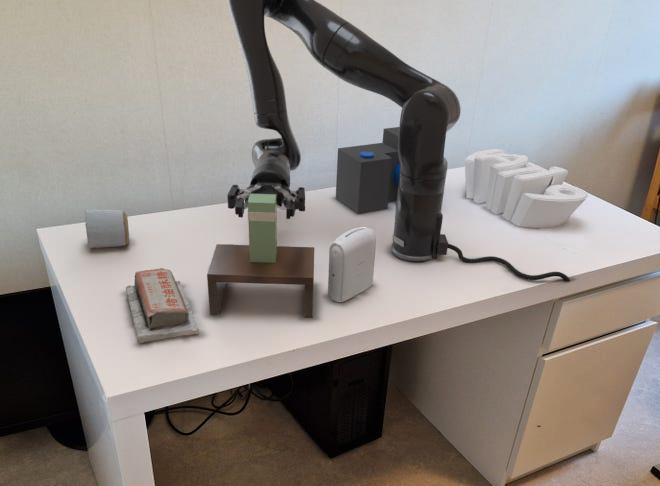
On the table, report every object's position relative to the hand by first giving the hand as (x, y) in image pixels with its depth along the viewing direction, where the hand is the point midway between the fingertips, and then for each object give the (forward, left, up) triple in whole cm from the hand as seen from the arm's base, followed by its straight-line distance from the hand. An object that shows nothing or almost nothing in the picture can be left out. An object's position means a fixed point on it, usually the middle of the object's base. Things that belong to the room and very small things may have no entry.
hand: (264, 213), depth 118 cm
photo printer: (-16, +1, -15) cm, 22 cm away
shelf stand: (0, +5, -15) cm, 15 cm away
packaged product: (+17, +11, -15) cm, 26 cm away
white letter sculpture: (-58, -45, -15) cm, 75 cm away
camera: (-29, -45, -15) cm, 55 cm away
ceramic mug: (+34, -17, -15) cm, 41 cm away
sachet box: (0, +4, -7) cm, 8 cm away
